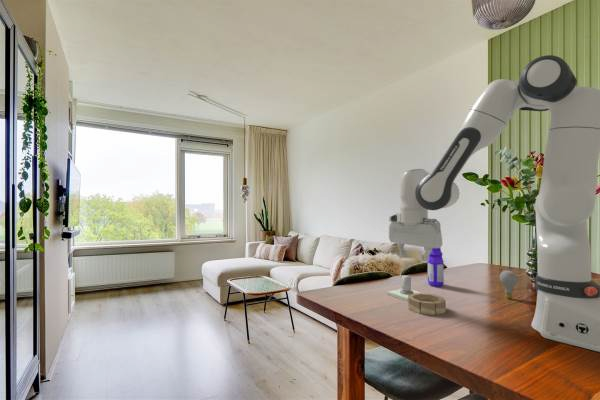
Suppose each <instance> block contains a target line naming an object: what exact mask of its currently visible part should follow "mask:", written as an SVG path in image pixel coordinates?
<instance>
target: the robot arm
mask: <svg viewBox="0 0 600 400" xmlns="http://www.w3.org/2000/svg"><path fill="white" fill-rule="evenodd" d="M577 85H578V79H577V77H576V76H575V74H574V73H573V70H572V69H571V66H570V65H569V64H568V63H567V62H566V61H565V60H564V59H563V58H562V57H560V56H557V55H553V54H547V55H541V56H539V57H537V58H535V59H533V60H531V61H530V62H529V63H528V64H526V65H525V66H524V68H523V69H522V71H521V72H520V75H519V78H518V79H517V80H509V79H506V78H505V79H504V78H500V79H495V80H492V81H491V82H490V83H489V84H487V86H486V87H485V89H483V91H482V92H481V93H480V94H479V96H478V97H477V98H476V100H475V101H474V103H473V104H472V106H471V108H470V109H469V111H468V113H467V114H466V116H465V118H464V119H463V121H462V123H461V126H460V127H459V130H458V132H457V133H456V135H455V137H454V138H453V140H452V142H451V143H450V145H449V147H448V148H447V149H446V151H445V152H444V153H443V155H442V157H441V158H440V160H439V161H438V163H437V164H436V166H435V167H434V169H433V170H431V172H429V171H426V169H424V168H416V169H415V168H413V169H410V170H407V171H405V172H404V173H403V174H402V175H401V178H400V184H399V185H400V186H399V187H400V188H399V189H400V191H399V197H400V207H399V209H400V210H399V212H397V213H394V214H391V215H390V216H389V217H388V221H389V222H390V223H389V226H388V240H389V242H390V243H395V244H397V248H398V250H399V256H400V257H402V258H406V257H407V256H408V251H406V250H405V246H406V245H407V246H416V247H422V248H423V251H424V254H421V261H424V262H427V261H429V255H430V253H431V252H432V248H441V247H443V234H442V230H441V229H442V228H441V222H440V221H439V220H438V219H436V218H429V211H438V210H441V209H445V208H449V207H451V206H453V205H455V204H456V203H457V202H458V199H460V198H459V197H460V189H459V187H458V185H457V183H455V180H456V179H457V177H458V176H459V174H460V173H461V171H462V170H463V168H464V167H465V165H466V164H467V162H468V160H470V158H471V157H472V156H473V155H474V154H476V153H477V152H478V151H480V150H482V149H484V148H487V147H489V146H491V145H492V144H493V143H495V141H496V140H497V139H498V138H499V136H501V134H502V133H503V132H504V130H505V129H506V127H507V125H508V124H509V122H510V120H511V119H512V117H513V116H514V114H515V113H516V112H517V111H518V110H520V111H527V112H528V111H529V112H530V111H531V112H546V111H549V112H550V122H549V128H548V133H547V139H546V145H545V151H544V158H543V164H542V174H541V181H540V187H539V193H538V195H537V197H536V199H535V207H534V208H535V229H536V230H535V231H536V233H535V234H536V250H537V251H536V252H537V254H536V256H537V274H536V275H535V293H536V295H537V296H536V304H535V310H534V316H533V319H532V321H531V323H530V324H531V325H530V326H531V328H532V329H534V330H535V331H537V332H538V333H540V335H541V336H542V337H543V338H544V339H548V340H550V341H555V342H559V343H563V344H567V345H570V346H575V347H579V348H582V349H586V350H587V349H588V350H591V351H595V352H598V353H600V284H598V283H597V282H595V281H594V280H592V257H591V255H592V251H591V245H590V239H589V231H588V222H587V220H589V218H590V217H592V215H593V213H594V210H595V203H596V194H597V186H598V185H597V184H598V167H599V166H598V165H599V159H600V89H598V88H596V87H593V86H592V87H591V86H577Z"/></svg>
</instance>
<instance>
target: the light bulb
mask: <svg viewBox="0 0 600 400" xmlns="http://www.w3.org/2000/svg"><path fill="white" fill-rule="evenodd" d="M518 280H519V278H518V275H517V274H516V273H515V272H514V271H512V270H510V269H509V270H502V272H501V273H500V275H499V281H500V283H501V284H502V285H503V288H504V292H505V298H506V299H508V300H510V299H513V290H514V288H515V287H516V285H517V284H518Z"/></svg>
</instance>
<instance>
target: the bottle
mask: <svg viewBox="0 0 600 400" xmlns="http://www.w3.org/2000/svg"><path fill="white" fill-rule="evenodd" d="M443 255H444V254H443V252H442V249H441V247H440V248H432V252H431V253H430V255H429V261H426V262H427V282H428V285H430V286H431V287H437V288H438V287H439V288H441V287H443V286H444V284H445V283H444V282H445V280H444V279H445V277H444V276H445V275H444V263H445V262H444V258H443Z"/></svg>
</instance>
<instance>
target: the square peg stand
mask: <svg viewBox="0 0 600 400" xmlns="http://www.w3.org/2000/svg"><path fill="white" fill-rule="evenodd" d="M401 278H402V280H401V281H402V283H401V285H402V288H398V289H394V290H393V289H392V290H388V291H386V295H387V296H391V297H395V298H398V299H400V300H403V301H405V302H408V295H410V294H415V293H422V292H421V291H417V290H414V289H412V277H411V276H410V275H402V276H401Z"/></svg>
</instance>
